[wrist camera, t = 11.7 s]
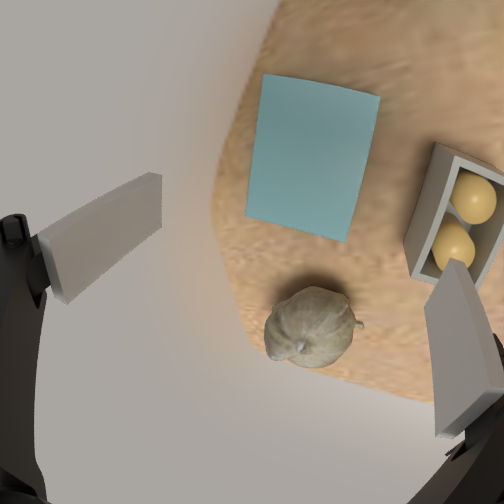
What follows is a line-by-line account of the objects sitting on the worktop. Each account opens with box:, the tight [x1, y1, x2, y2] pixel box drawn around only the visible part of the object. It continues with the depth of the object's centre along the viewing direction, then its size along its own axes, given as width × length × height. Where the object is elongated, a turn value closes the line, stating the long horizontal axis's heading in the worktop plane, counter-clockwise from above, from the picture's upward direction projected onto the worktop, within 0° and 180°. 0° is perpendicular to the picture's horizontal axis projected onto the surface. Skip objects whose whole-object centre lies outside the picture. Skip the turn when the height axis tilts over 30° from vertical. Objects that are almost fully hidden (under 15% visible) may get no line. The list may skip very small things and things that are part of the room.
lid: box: [245, 74, 381, 243], centre depth 25 cm, size 13×9×3 cm
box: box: [403, 142, 504, 292], centre depth 21 cm, size 10×6×6 cm, turn 172°
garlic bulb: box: [264, 286, 364, 368], centre depth 29 cm, size 9×8×10 cm
